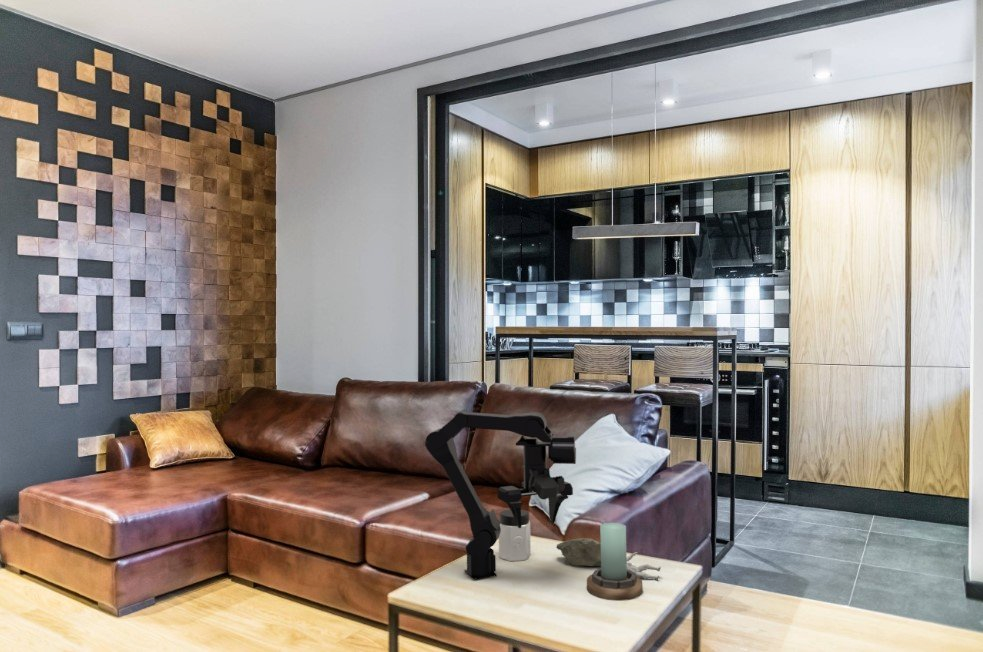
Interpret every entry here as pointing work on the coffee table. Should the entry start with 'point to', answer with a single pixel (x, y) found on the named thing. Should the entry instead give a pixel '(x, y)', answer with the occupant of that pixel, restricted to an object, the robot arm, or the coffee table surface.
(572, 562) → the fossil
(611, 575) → the column
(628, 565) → the soldier figure
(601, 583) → the segmented ring tray
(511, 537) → the jar
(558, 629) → the coffee table surface
